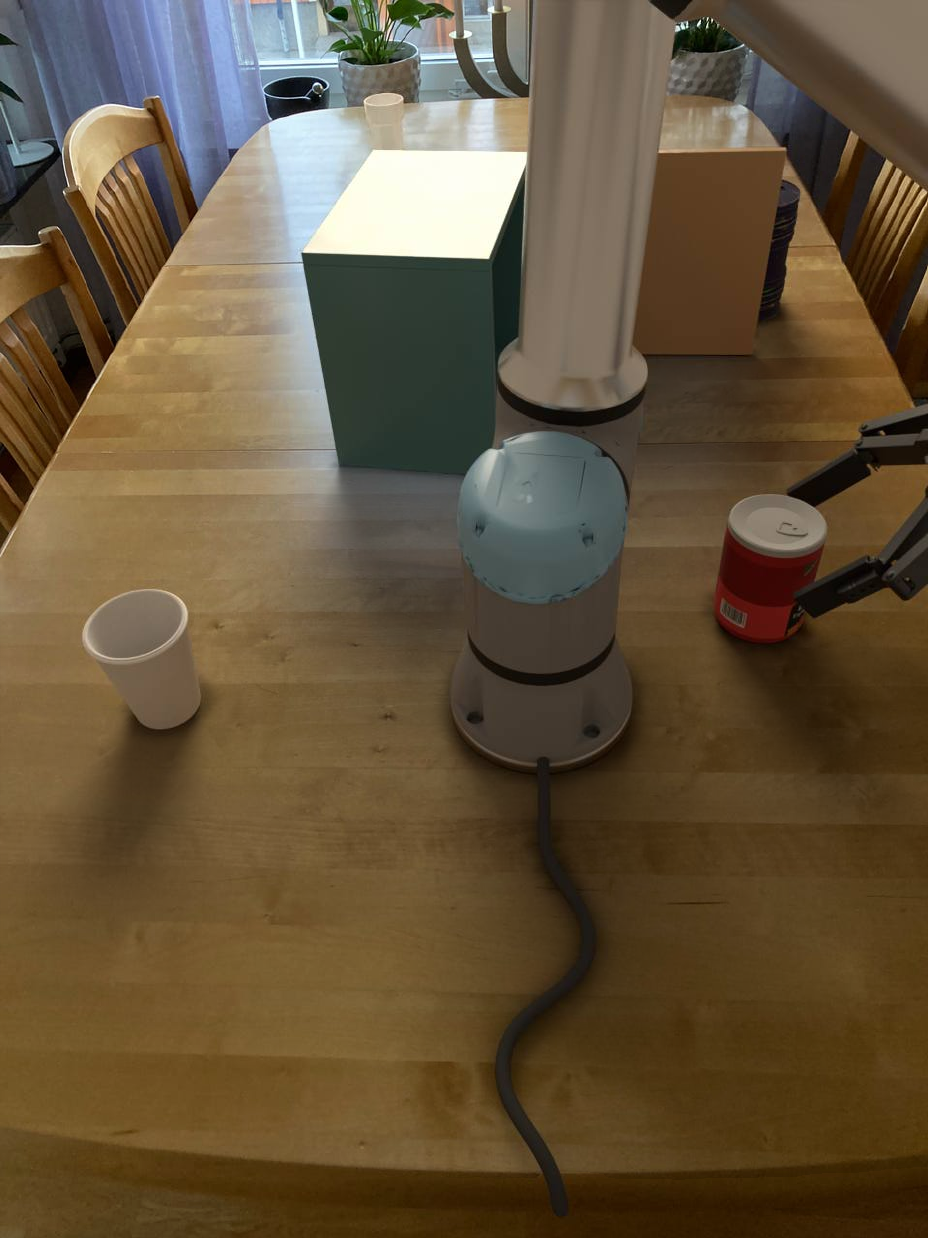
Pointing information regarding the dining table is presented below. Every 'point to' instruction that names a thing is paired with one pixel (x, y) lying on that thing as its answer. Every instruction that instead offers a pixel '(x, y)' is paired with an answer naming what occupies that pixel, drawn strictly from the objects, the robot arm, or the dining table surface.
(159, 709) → the dixie cup
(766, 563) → the canned food
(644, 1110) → the dining table surface
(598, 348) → the robot arm
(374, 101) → the cup
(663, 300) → the fridge door
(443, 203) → the box
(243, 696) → the dining table surface
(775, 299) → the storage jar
